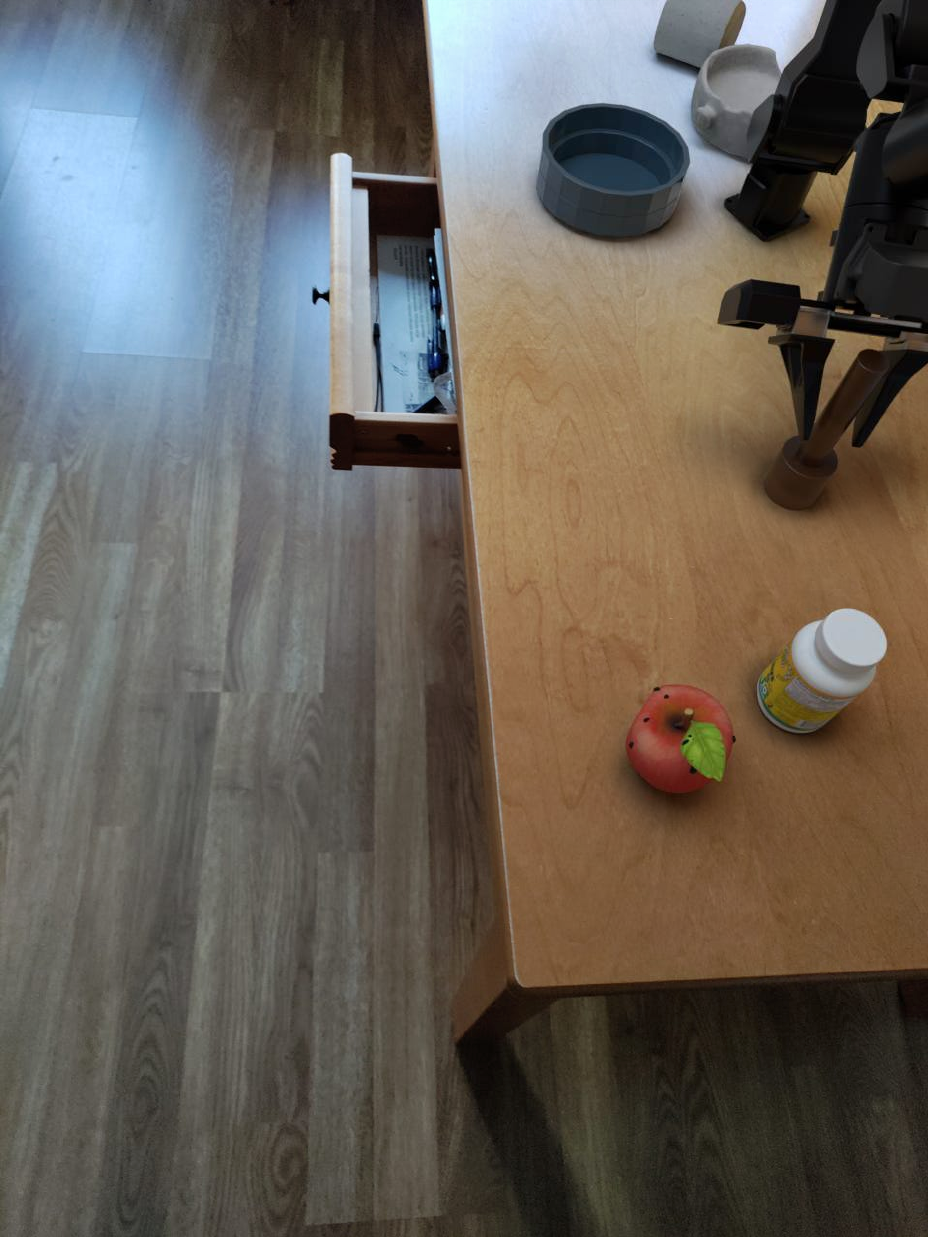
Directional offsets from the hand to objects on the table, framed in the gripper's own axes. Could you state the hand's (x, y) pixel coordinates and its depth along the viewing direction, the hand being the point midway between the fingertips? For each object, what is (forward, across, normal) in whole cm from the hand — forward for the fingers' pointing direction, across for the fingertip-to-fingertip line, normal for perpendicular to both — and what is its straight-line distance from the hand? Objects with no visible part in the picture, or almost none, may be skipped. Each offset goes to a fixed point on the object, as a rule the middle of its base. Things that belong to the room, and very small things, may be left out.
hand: (830, 443), depth 63 cm
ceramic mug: (-40, -7, +50) cm, 65 cm away
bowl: (-20, -16, +30) cm, 40 cm away
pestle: (+4, 0, +6) cm, 7 cm away
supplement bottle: (+18, -1, -7) cm, 19 cm away
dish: (-31, -1, +41) cm, 51 cm away
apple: (+22, -10, -12) cm, 27 cm away
